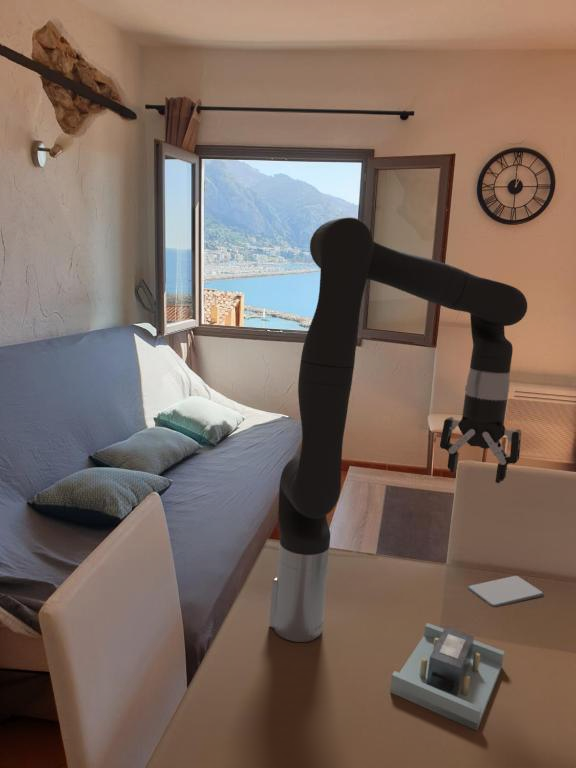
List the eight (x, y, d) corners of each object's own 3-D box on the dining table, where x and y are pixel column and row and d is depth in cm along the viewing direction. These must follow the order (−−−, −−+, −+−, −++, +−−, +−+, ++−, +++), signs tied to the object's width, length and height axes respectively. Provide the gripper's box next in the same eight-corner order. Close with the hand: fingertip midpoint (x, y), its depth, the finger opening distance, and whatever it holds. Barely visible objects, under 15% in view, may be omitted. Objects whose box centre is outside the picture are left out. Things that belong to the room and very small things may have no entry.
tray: (390, 692, 96) (392, 669, 95) (425, 638, 111) (427, 617, 110) (476, 730, 89) (480, 706, 88) (502, 667, 104) (505, 646, 103)
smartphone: (466, 585, 131) (516, 574, 137) (465, 589, 131) (516, 578, 137) (493, 605, 123) (545, 593, 130) (492, 610, 124) (544, 597, 130)
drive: (441, 651, 105) (445, 626, 104) (470, 662, 103) (474, 636, 102) (425, 685, 96) (429, 657, 95) (456, 697, 94) (460, 669, 93)
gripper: (530, 397, 109) (517, 480, 112) (454, 385, 116) (444, 463, 119) (523, 403, 103) (510, 491, 106) (442, 390, 110) (432, 473, 113)
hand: (475, 476), depth 112 cm, fingers open, 8 cm apart
